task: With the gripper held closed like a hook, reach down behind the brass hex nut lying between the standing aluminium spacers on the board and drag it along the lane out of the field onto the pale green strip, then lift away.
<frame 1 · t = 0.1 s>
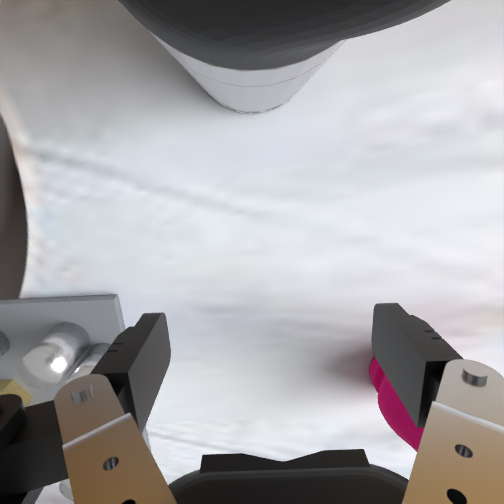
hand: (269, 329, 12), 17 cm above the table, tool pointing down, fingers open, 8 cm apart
spacers: (19, 415, 32), on the board, point 4 cm above the table
pepper mill: (397, 366, 34), on the table
nut: (7, 397, 34), point 1 cm above the table, touching board
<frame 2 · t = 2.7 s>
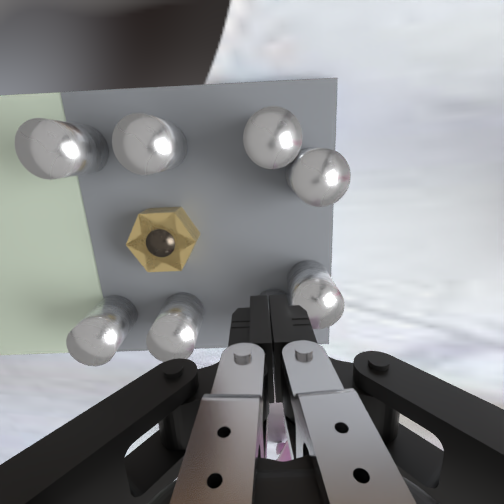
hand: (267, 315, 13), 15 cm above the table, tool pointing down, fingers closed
spacers: (200, 241, 24), on the board, point 4 cm above the table
nut: (168, 235, 26), point 1 cm above the table, touching board
board: (142, 233, 27), on the table
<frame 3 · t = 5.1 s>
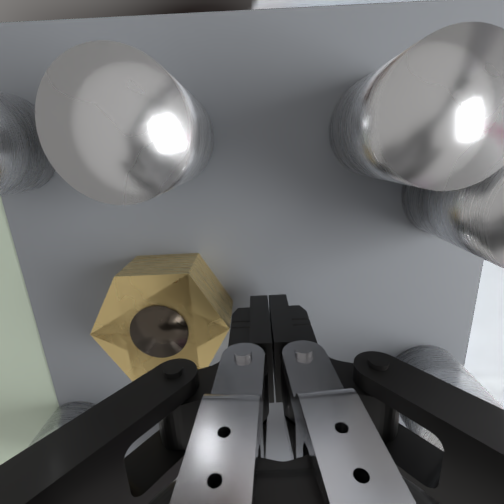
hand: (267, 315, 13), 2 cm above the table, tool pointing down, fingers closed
spacers: (239, 330, 12), on the board, point 4 cm above the table
nut: (174, 303, 14), point 1 cm above the table, touching board, gripper
board: (128, 295, 15), on the table
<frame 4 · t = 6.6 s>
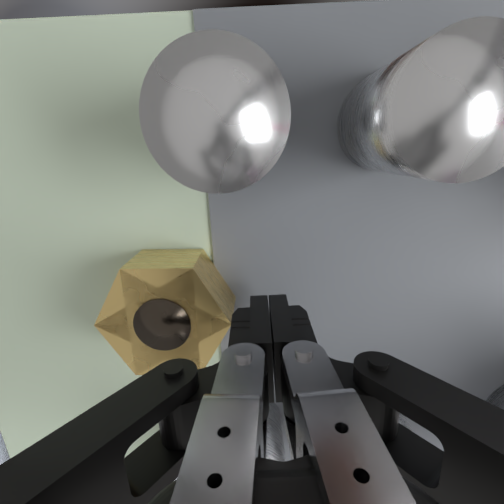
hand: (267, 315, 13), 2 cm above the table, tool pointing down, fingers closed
spacers: (462, 314, 12), on the board, point 4 cm above the table
nut: (177, 297, 15), point 1 cm above the table, touching board, gripper
board: (301, 283, 15), on the table
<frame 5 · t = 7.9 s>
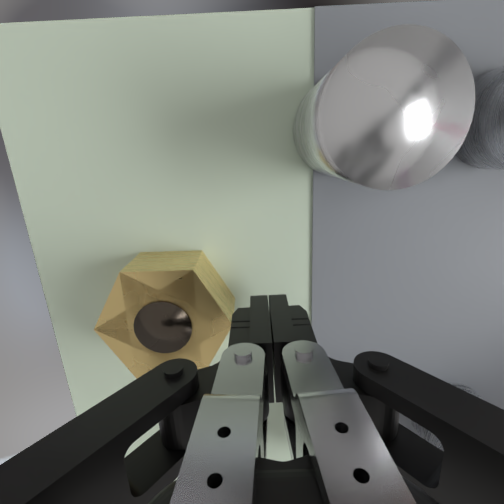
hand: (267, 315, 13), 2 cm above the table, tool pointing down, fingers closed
nut: (176, 299, 14), point 1 cm above the table, touching board, gripper
board: (391, 282, 15), on the table
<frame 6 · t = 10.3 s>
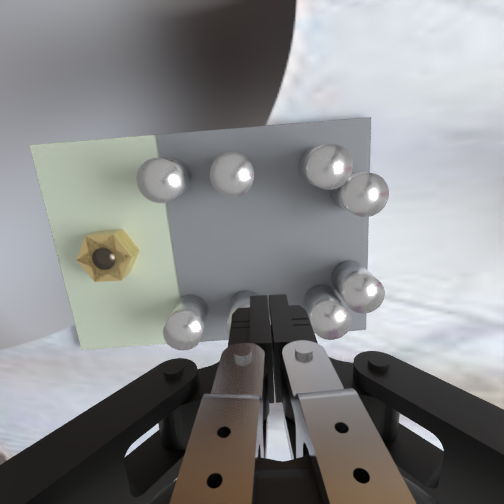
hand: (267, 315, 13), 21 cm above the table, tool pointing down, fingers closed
spacers: (266, 247, 30), on the board, point 4 cm above the table
nut: (114, 251, 33), point 1 cm above the table, touching board
board: (212, 242, 34), on the table
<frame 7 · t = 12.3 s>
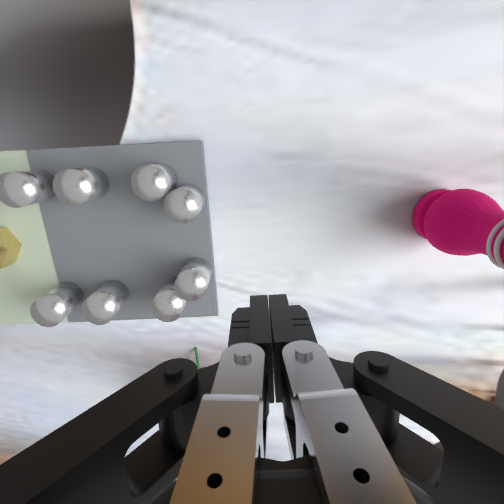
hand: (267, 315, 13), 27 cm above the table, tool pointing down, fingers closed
spacers: (117, 245, 37), on the board, point 4 cm above the table
pepper mill: (436, 214, 40), on the table
nut: (0, 244, 40), point 1 cm above the table, touching board
board: (85, 239, 40), on the table
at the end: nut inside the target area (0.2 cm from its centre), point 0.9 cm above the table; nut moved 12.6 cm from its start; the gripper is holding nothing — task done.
